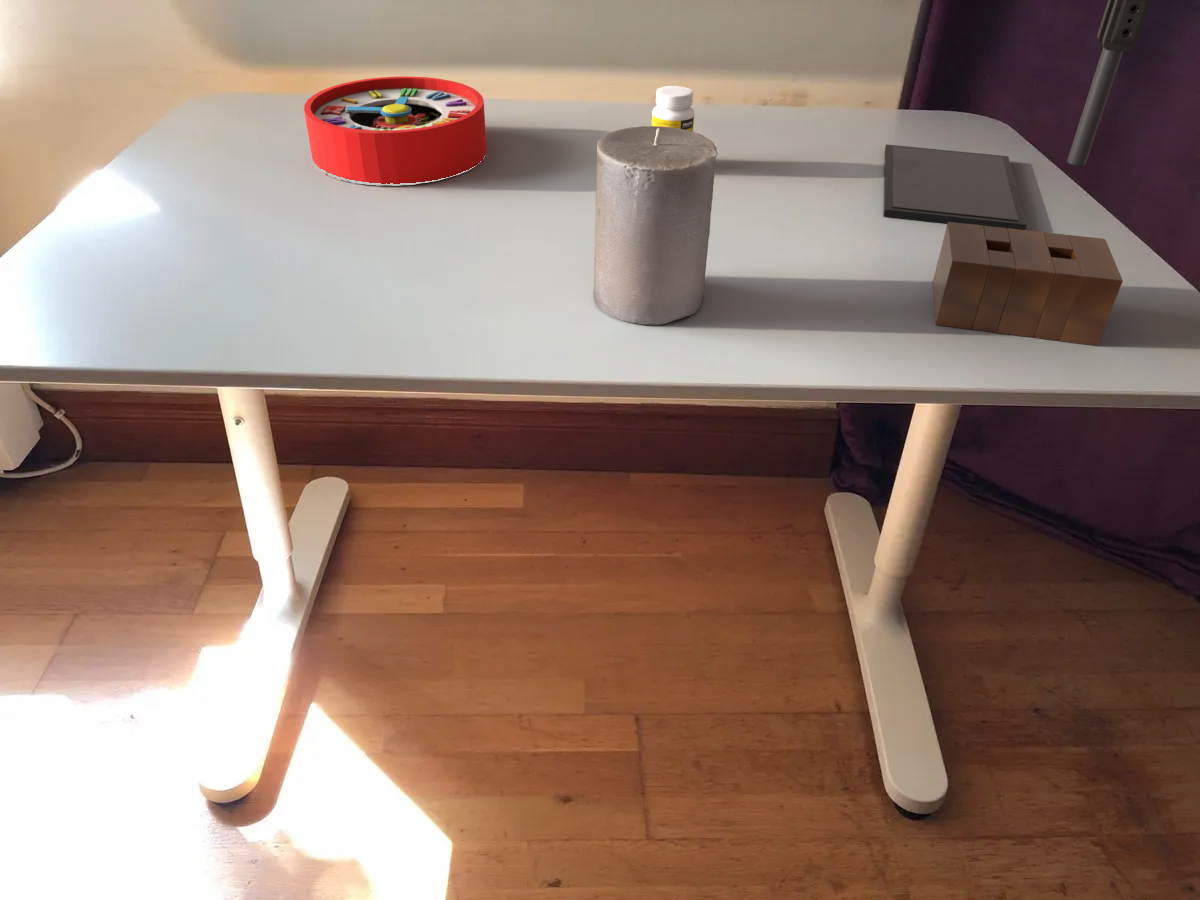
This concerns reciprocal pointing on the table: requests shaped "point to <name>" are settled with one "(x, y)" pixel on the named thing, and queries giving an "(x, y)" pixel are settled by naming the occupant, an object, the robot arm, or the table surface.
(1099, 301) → the pen stand
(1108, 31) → the robot arm
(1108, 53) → the stylus
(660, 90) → the supplement bottle
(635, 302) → the pillar candle
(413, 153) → the toy clock
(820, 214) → the table surface
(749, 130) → the table surface
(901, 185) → the tablet
